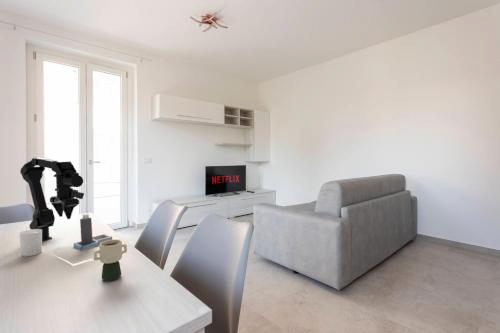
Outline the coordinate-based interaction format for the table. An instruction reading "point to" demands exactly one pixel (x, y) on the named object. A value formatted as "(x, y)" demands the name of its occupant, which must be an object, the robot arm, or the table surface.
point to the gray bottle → (86, 230)
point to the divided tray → (96, 241)
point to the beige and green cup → (110, 258)
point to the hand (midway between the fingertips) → (64, 217)
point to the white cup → (31, 242)
